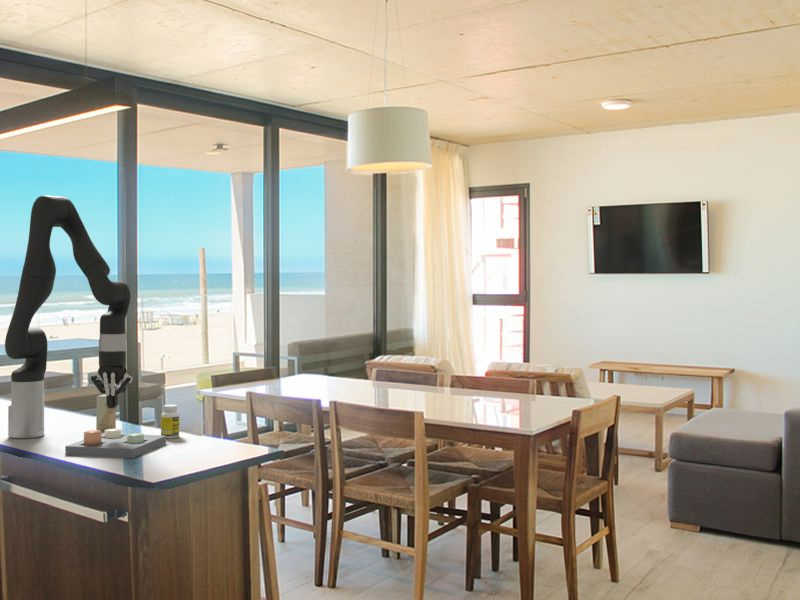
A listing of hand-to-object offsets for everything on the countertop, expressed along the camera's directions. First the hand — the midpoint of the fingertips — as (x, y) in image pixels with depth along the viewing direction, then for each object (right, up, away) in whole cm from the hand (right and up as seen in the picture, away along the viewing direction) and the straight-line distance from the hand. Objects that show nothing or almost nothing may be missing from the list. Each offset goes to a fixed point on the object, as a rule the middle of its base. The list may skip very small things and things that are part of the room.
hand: (112, 408), depth 236 cm
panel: (+4, -11, -5) cm, 13 cm away
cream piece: (0, -10, +1) cm, 11 cm away
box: (-11, -11, +25) cm, 30 cm away
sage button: (+9, -11, -6) cm, 15 cm away
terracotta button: (-2, -9, -10) cm, 14 cm away
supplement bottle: (+13, -11, +13) cm, 22 cm away
